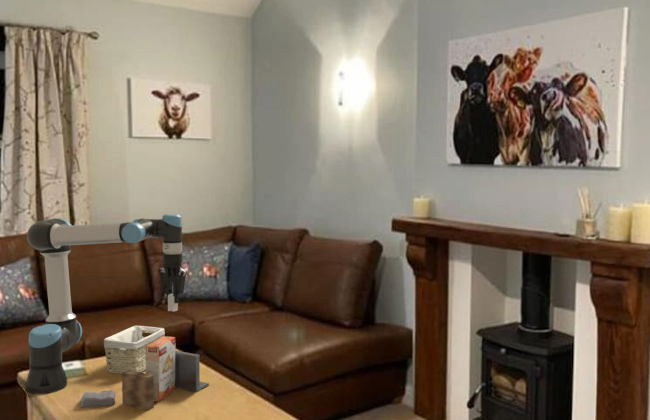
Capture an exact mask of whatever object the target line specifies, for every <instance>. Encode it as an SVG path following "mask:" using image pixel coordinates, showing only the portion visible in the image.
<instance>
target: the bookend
mask: <svg viewBox="0 0 650 420" xmlns="http://www.w3.org/2000/svg"><path fill="white" fill-rule="evenodd" d="M200 375H201V374H200V354H197V353H190V352H185V351H180V350H175V389H176V388H177V389H181V390H185V391H191V392H196V393H197V392H199V391H201V390H202V389H204V388H207V387H209V386H210V383H209V382H205V381H200Z"/></svg>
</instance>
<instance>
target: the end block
mask: <svg viewBox="0 0 650 420" xmlns="http://www.w3.org/2000/svg"><path fill="white" fill-rule="evenodd" d="M121 381H122V382H121V383H122V384H121V385H122V386H121V387H122V388H121V390H122V399H121V401H122V405H123V406H128V407H133V408H135V409H140V410H144V411H150V410H152V409H154V406H155V404H154V402H155V401H154V392H153V375H150V374H146V372H145V373H144V372H136V371H131V370H127V371H124V372H122V374H121Z"/></svg>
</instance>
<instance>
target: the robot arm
mask: <svg viewBox="0 0 650 420" xmlns="http://www.w3.org/2000/svg"><path fill="white" fill-rule="evenodd" d="M182 219H183V218H182V216H181V215H180V214H176V213H168V214H163V215H162V218H160V219H159V218H158V219H157V218H135V219H133V221H131V222H115V223H99V224H98V223H97V224H92V223H91V224H76V225H75V224H73V225H72V223H70V222H69V221H68V220H66V219H64V218H59V217H58V218H49V219H45V220H39V221H36V222H35V223H33V224H32V225H31V226H30V227H29V228H28V230H27V233H26V239H27V242H28V244H29V246H31V248H33V249H35V250H37V251H39V253H40V255H42V256H43V257H44V265H45V266H44V267H45V278H46V289H47V290H46V291H47V300H48V312H49V313H48V316H47V317H46V318H45V324H42V325H39V326H35V327H33V328H32V329H31V330H30V331H29V333H28V342H27V343H28V355H29V356H28V357H29V359H28V360H29V369H28V370H29V371H28V373H27V378H26V381H25V383H24V390H25V391H26V392H27V393H31V394H46V393H53V392H58V391H61V390H62V389H65V387H67V386H68V378H67V375H66V373H65V369H64V367H63V355H62V354H63V353H64V352H66V351H68V350H69V349H72V348H73V347H74V346H76V344H77V343H79V341H80V340H81V338H82V335H83V329H82V325H81V323H80V322H79V321H78V320H77V315H76V314H75V313H73V310H72V309H73V308H72V307H73V306H72V297H71V284H70V282H71V281H70V273H69V272H70V271H69V270H70V269H69V260H68V258H69V257H68V255H69V254H70V252H71V251H72V248H71V246H81V245H98V244H113V243H115V244H116V243H117V244H118V243H130V244H137V243H139V242H142V241H144V240H146V239H153V238H154V239H162V252H163V254H162V263H163V265H162V267H159V268H158V269H157V271H158V273H159V277H160V284H161V290H162V293H164V294H166V303H167V312H177V311H179V302H180V295H182V294H183V293H184V289H185V282H186V276H187V274H188V270H187V269H186V270H185V269H183V265H182V262H183V254H182V252H183V223H182Z"/></svg>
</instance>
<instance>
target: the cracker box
mask: <svg viewBox="0 0 650 420" xmlns="http://www.w3.org/2000/svg"><path fill="white" fill-rule="evenodd" d="M175 351H176V337H175V336H162V337H161V338H159V339H157V340H155V341H154V342H152V343H150V344H149V345H147V346H146V370H145V374H150V375H153V392H154V402H160V401H161V400H163V399H164V398H166V397H167V396H168V395H169V394H171V393H173V391H174V390H176V387H175Z"/></svg>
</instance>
